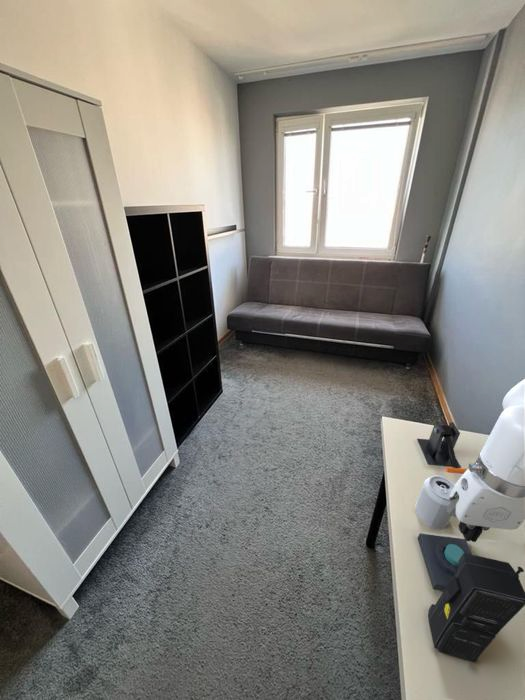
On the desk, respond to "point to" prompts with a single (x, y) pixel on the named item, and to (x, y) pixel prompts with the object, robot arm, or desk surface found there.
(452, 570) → the socket block
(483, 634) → the portable radio
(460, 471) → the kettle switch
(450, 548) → the socket button
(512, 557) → the desk surface
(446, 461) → the kettle bracket
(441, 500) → the can
